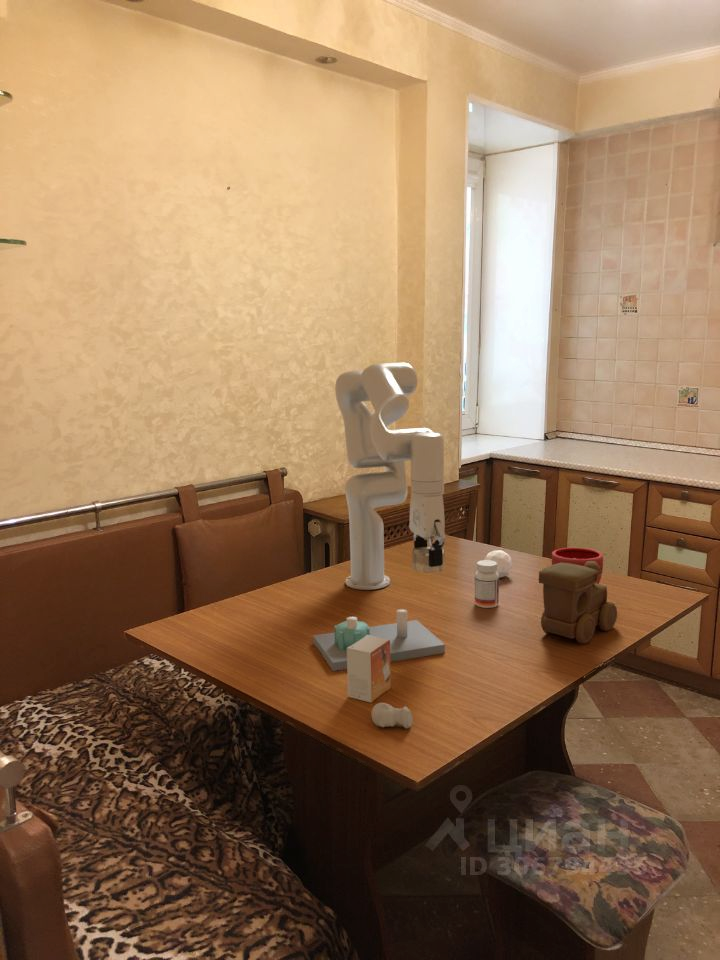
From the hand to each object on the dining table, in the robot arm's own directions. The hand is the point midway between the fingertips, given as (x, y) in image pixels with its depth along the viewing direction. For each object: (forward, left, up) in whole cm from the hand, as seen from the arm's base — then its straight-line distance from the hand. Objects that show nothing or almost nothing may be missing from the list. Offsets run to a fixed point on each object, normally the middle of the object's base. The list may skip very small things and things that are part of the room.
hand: (428, 560), depth 185 cm
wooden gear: (0, 0, -2) cm, 2 cm away
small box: (+24, -23, -18) cm, 38 cm away
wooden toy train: (+12, +33, -18) cm, 40 cm away
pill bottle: (-12, +22, -18) cm, 31 cm away
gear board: (+4, -14, -18) cm, 23 cm away
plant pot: (-9, +47, -18) cm, 51 cm away
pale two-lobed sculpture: (+38, -24, -18) cm, 48 cm away
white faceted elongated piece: (-33, +36, -18) cm, 52 cm away
